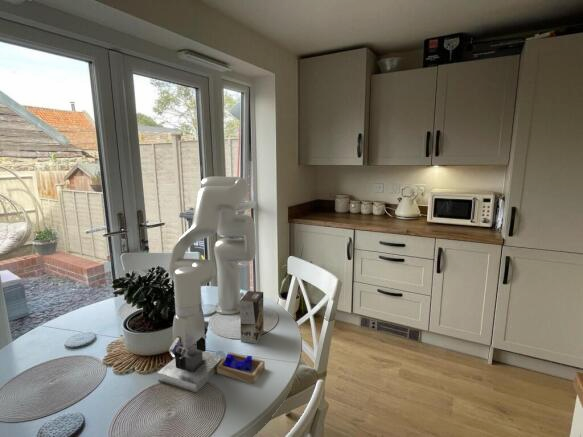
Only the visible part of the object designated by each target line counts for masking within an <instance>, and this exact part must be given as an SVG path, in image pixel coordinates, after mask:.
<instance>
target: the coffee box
mask: <svg viewBox="0 0 583 437" xmlns="http://www.w3.org/2000/svg"><path fill="white" fill-rule="evenodd" d="M239 315H240V342H245V343H250V344H251V343H252V344H257V343H258V342H259V339H260V338H261V336H262V334H263V333H264V331H265V330H264V319H265V318H264V292H263V291H251V290H247V292H246V293H244V296H243V297H241V299H240V312H239Z"/></svg>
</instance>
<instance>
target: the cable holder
mask: <svg viewBox="0 0 583 437" xmlns="http://www.w3.org/2000/svg"><path fill="white" fill-rule="evenodd" d="M225 357H226V363H225V365H224V366H226V367H229V368H233V369H237V370H240V371H245V372H246V371H248V372H251V371H252V368H253V367H252V358H253V356H252V355H247V356H246V357H247V358H246V360H245V361H244V362H238V361H236V360H235V359H234V358H233V356H232V354H229V353H227V355H226V356H225Z"/></svg>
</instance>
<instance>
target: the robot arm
mask: <svg viewBox="0 0 583 437" xmlns="http://www.w3.org/2000/svg"><path fill="white" fill-rule="evenodd" d="M200 186H201V187H200V189H199V190H198V191H197V195H196V201H195V205H194V212H193V216H192V221H191V226H190V228H189V229H187V230H186V231H185V232H184V233H183V234H182V235H181V236H180V238H179V239H178V240H177V241H176V243H175V244H174V246H173V247H172V250H171V251H172V252H171V254H170V260H169V264H168V275H169V278H170V279H171V280H172V281H173V288H174V304H175V306H174V307H175V314H174V316H173V322H172V344H171V345H170V347H169V348H168V352H169V354H170V355H171V357H173V358H175V361H176V368H178V369H182V370H185V369H186V362H185V357H184V354H185V351H186V349H188V348H189V347H191V346H192V345H193V344H194V343H195V347H196V349H198V350H202V351H203V352H207V349H206V348H207V347H206V346H207V344H206V339H207V333H208V330H209V329H208V327H209V324H210V322H209V321H207V320H205V314H204V310H203V305H202V304H203V303H202V287H203V286H205V285H207V284H209V283H210V282H211V281H213V279H214V278H215V277H217V279H216V280H217V303H216V304H215V305H214V311H215V312H216V313H217V314H221V315H234V314H238V313H240V300H241V299H242V298H243V296H244V295H245V293H244V292H242V291H241V280H240V279H241V277H240V274H241V272H240V267H239V265H238V264H237V262H246V263H247V262H252V261H253V260H254V259H255V258H256V255H257V254H256V253H257V248H256V246H257V245H256V228H255V226H256V225H255V222H254V218H253V217H252V216H251V215H247V214H237V212H236V210H237V209H239V207H241V205H242V203H243V202H244V199H245V197H246V195H247V192H248V183H247V180H246V179H245V178H244V177H242V176H241V177H240V176H216V175H215V176H205V177H204V178H203V179H201V182H200ZM216 233H217V235H218V236H219V237H222V238H220V239H218V240H216V241H215V243H214V246H213V252H214V253H213V254H214V257H215V261H216V264H215V262H214V261H213V260H210V259H206V258H205V259H204V258H203V259H202V258H200V259H199V258H185V255H186V252H187V251H188V249H189V248H190V247H192V245H194V244H196V243H197V242H199V241H201V240H204V239H206V238H209V237H212V236H213V235H215V234H216ZM216 275H217V276H216ZM180 349H181V352H180ZM180 353H181V354H180Z"/></svg>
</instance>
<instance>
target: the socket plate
mask: <svg viewBox="0 0 583 437" xmlns="http://www.w3.org/2000/svg"><path fill="white" fill-rule="evenodd" d="M186 350H187V349H186ZM179 353H180V354H181V352H179ZM202 358H203V364H202V365H201V366H200V367H199V368H198V369H197V370H196V371H195V372H194V373H193V372H189V371H186V370H182V369H178V368H176V361H175V357H173V359H172V360H171V361H170V362H168V363H167V364H166V365H165V366H164V367H162V368H161V369H160V370H158V371H157V381H159V382H160V381H161V382H163V383H166V384H170V385H171V386H175V387H178V388H182V389H186V390H187V391H188V390H189V391H190V392H194V393H198V392H199V390H200V389H201V388H203V386H204V385H205V384H206V383H207V382H208V381H209V380H210V379H211V378H212V377H213V376H214V374H216V373H217V365H218V364H219V363H220V362H221V361H222V360H223V359H224V358H225V357H224V356H223V355H219V354H215V353H211V352H208V351H205V352H203V351H202Z"/></svg>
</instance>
